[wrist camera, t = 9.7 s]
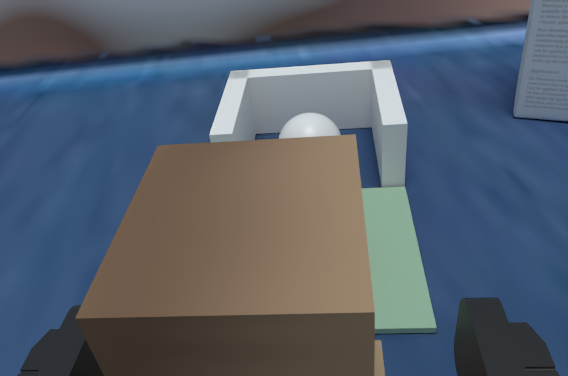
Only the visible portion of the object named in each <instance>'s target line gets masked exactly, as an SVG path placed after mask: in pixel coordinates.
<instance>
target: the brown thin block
mask: <svg viewBox="0 0 568 376" xmlns="http://www.w3.org/2000/svg"><path fill="white" fill-rule="evenodd" d="M75 319H76V321H77V323H78V325H79V327H80V329H81V331H82V333H83V335H84V337H85V339H86V341H87V343H88V345H89V347H90V349H91V351H92V353H93V355H94V357H95V359H96V361H97V363H98V365H99V367H100V369H101V371H102V373H103V374H104V376H374V351H375V310H374V301H373V291H372V282H371V273H370V263H369V254H368V245H367V235H366V226H365V217H364V207H363V198H362V189H361V179H360V170H359V161H358V152H357V142H356V134H354V135H337V136H319V137H301V138H283V139H265V140H247V141H229V142H211V143H193V144H175V145H158V147H157V149H156V151H155V153H154V155H153V157H152V159H151V161H150V163H149V165H148V167H147V170H146V172H145V174H144V176H143V178H142V180H141V182H140V184H139V186H138V188H137V190H136V192H135V195H134V197H133V199H132V201H131V203H130V205H129V207H128V209H127V211H126V213H125V215H124V217H123V220H122V222H121V224H120V226H119V228H118V230H117V232H116V234H115V236H114V238H113V240H112V243H111V245H110V247H109V249H108V251H107V253H106V255H105V257H104V259H103V261H102V263H101V265H100V268H99V270H98V272H97V274H96V276H95V278H94V280H93V282H92V284H91V286H90V288H89V290H88V293H87V295H86V297H85V299H84V301H83V303H82V305H81V307H80V309H79V311H78V313H77V315H76V318H75Z"/></svg>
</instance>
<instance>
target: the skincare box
mask: <svg viewBox="0 0 568 376" xmlns="http://www.w3.org/2000/svg"><path fill="white" fill-rule="evenodd" d="M513 115H514V117H520V118H533V119H544V120H557V121H568V0H531V6H530V12H529V18H528V24H527V30H526V36H525V42H524V48H523V53H522V59H521V65H520V71H519V77H518V83H517V89H516V96H515V103H514V111H513Z"/></svg>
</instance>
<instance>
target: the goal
mask: <svg viewBox="0 0 568 376" xmlns="http://www.w3.org/2000/svg"><path fill="white" fill-rule="evenodd" d="M303 113H318V114H321V115H324V116H326V117H327V118H329V119H330V120H331V121H332V122H333V123H334V124H335V125H336V126H337V128H338V129H352V128H369V127H372V132H373V138H374V144H375V150H376V157H377V163H378V169H379V175H380V182H381V188H384V187H404V186H405V165H406V144H407V120H406V117H405V113H404V109H403V106H402V102H401V98H400V95H399V91H398V87H397V84H396V80H395V76H394V73H393V69H392V66H391V62H390V60H383V61H369V62H354V63H340V64H326V65H312V66H297V67H283V68H269V69H255V70H240V71H231V72H230V75H229V78H228V81H227V84H226V87H225V90H224V93H223V96H222V99H221V102H220V105H219V108H218V111H217V114H216V116H215V119H214V122H213V125H212V128H211V131H210V134H209V137H210V141H211V142H229V141H247V140H255V135H256V134H264V133H281V130H282V129H283V127H284V126H285V124H286V123H287V122H288V121H289V120H290V119H292V118H293V117H295V116H297V115H299V114H303Z"/></svg>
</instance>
